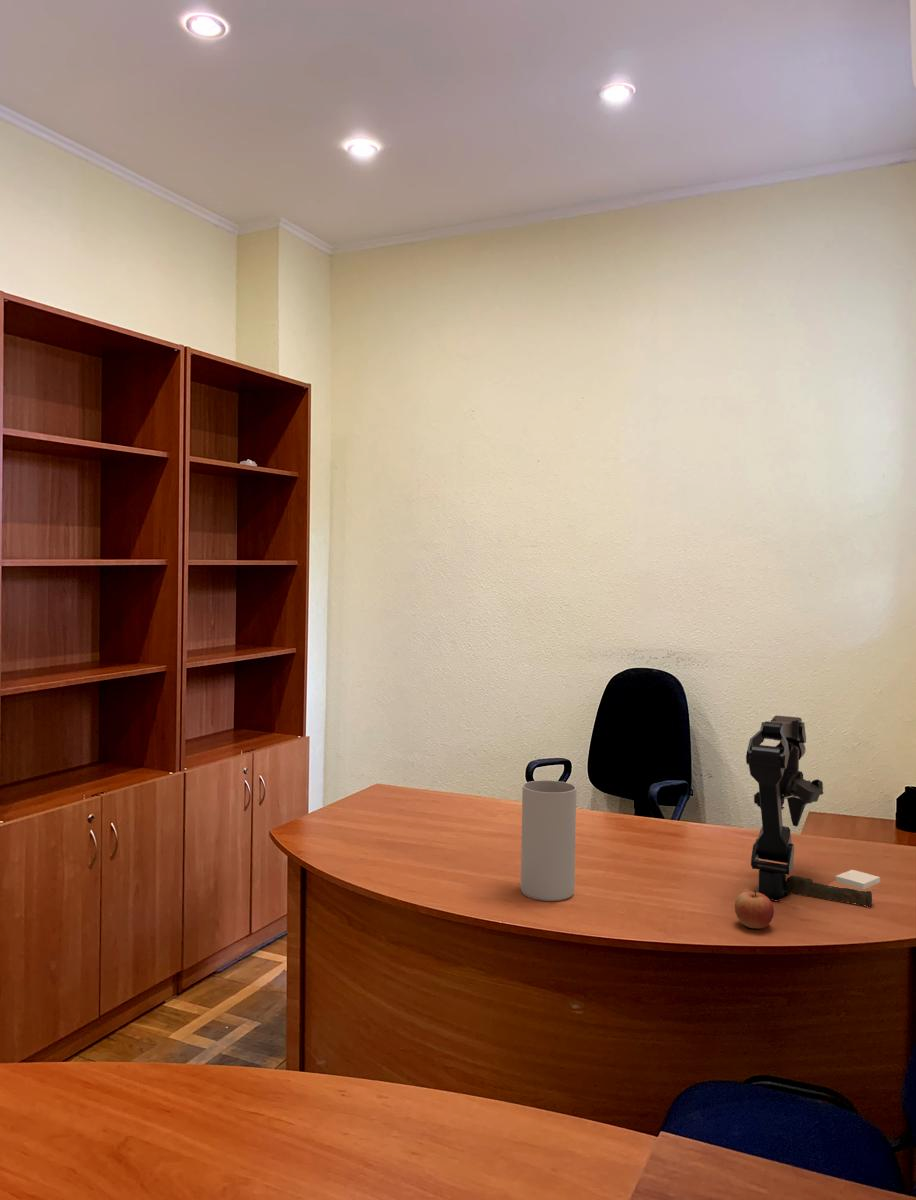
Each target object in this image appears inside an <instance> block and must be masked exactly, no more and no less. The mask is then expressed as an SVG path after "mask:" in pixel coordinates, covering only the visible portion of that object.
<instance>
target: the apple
mask: <svg viewBox="0 0 916 1200" xmlns="http://www.w3.org/2000/svg"><path fill="white" fill-rule="evenodd" d="M756 890H757V888H754V890H753V891H755V892H753V891H743V892H742V893H740V894H739V895H738V896H737V898H736V900H735V902H734V911H735V914H736V917H737V919H738V921H740V923H741V924H742V925H744V926H746V927H747V928H749V929H755V928H756V929H764V928H766V927H767V926H769V924H770V923H771V922H772V920H773V918H774V915H775V908H774V905H773V902H772V900H770V899H769V898H768V897H767V896H765V895H763V894H761V893H758V892H756Z"/></svg>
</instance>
